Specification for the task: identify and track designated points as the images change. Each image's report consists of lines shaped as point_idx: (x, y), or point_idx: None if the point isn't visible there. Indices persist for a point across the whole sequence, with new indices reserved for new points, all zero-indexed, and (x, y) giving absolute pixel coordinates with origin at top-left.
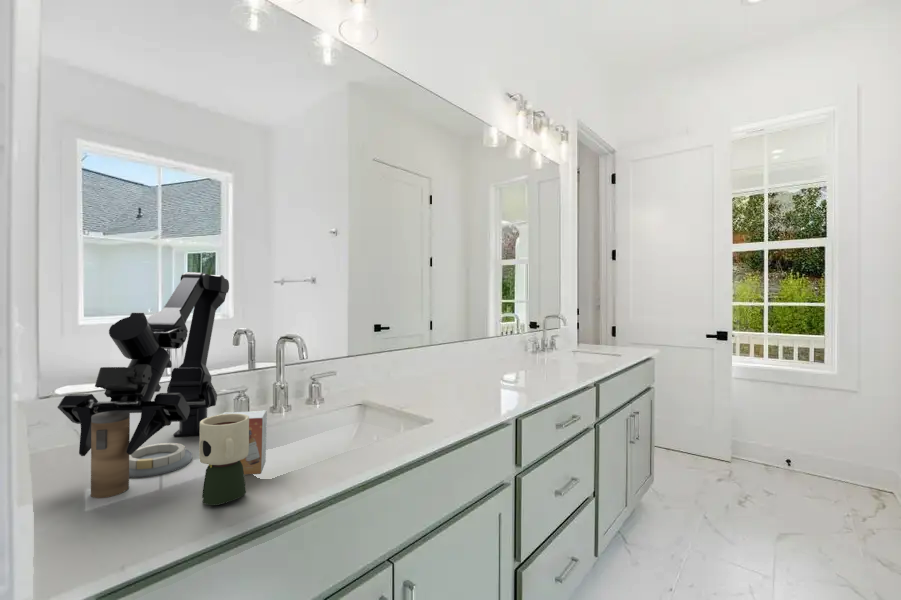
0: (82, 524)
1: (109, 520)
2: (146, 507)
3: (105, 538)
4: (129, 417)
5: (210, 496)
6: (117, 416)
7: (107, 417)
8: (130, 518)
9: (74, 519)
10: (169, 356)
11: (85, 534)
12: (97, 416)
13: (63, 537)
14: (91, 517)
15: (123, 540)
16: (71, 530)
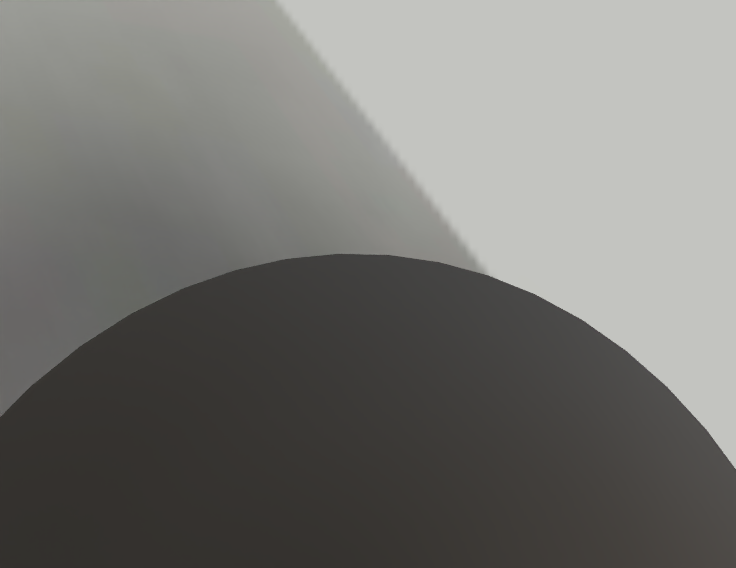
0: (249, 167)
1: (146, 182)
2: (11, 286)
3: (94, 46)
4: None
5: None
6: (48, 401)
7: (277, 336)
8: (54, 185)
9: (312, 216)
10: None
11: (190, 87)
12: (590, 460)
13: (264, 81)
14: (245, 223)
15: (16, 21)
16: (266, 126)
